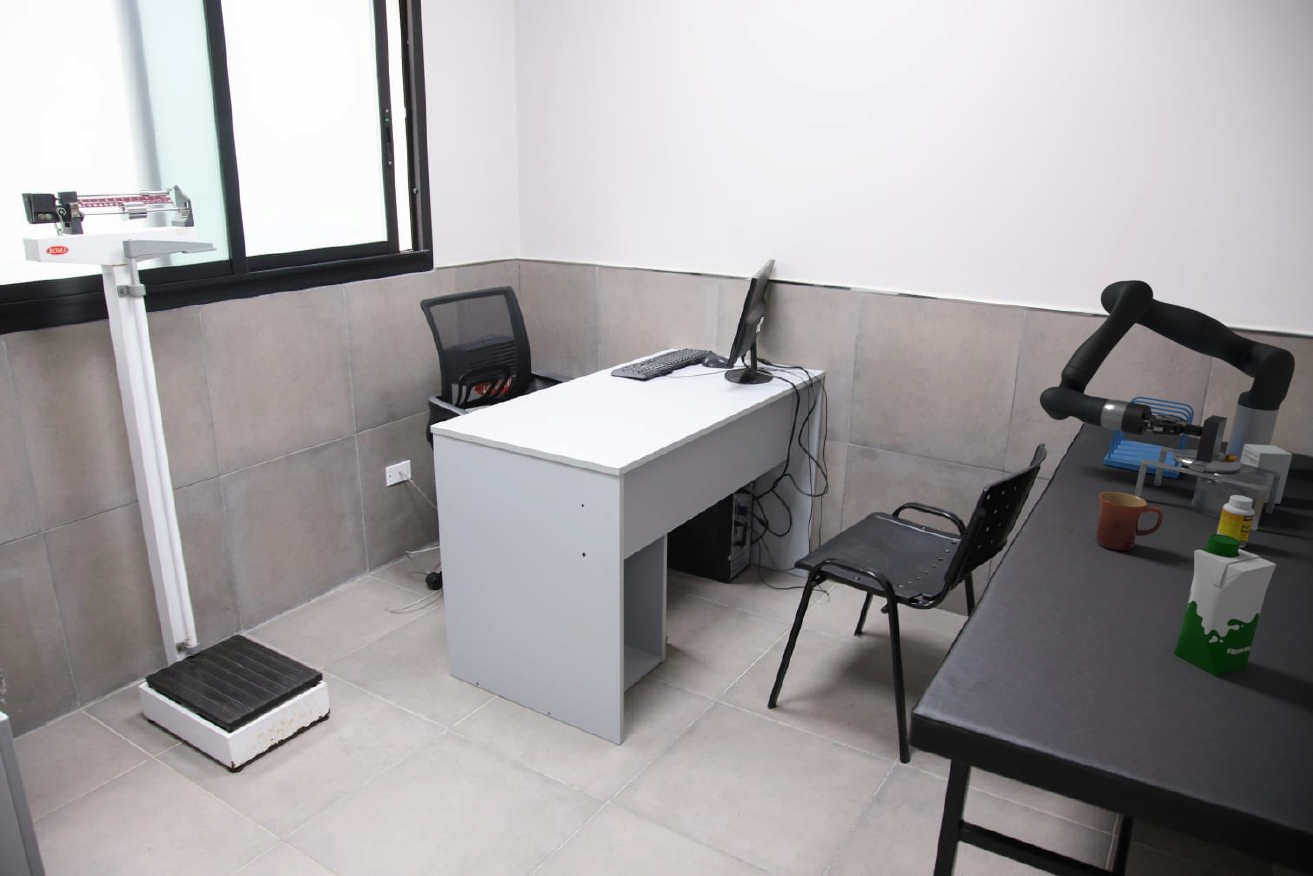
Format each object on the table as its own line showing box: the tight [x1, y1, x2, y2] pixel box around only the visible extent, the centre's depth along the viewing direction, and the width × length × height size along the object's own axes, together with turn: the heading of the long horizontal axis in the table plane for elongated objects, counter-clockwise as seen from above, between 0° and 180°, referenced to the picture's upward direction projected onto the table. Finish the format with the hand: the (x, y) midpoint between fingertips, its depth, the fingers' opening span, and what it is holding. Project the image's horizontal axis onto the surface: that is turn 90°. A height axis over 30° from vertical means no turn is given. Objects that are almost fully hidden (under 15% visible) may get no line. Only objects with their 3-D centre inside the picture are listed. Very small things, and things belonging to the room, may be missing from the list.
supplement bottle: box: [1216, 495, 1255, 549], centre depth 182 cm, size 6×6×10 cm
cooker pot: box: [1134, 446, 1282, 532], centre depth 203 cm, size 25×16×10 cm, turn 45°
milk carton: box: [1173, 533, 1277, 677], centre depth 134 cm, size 9×9×20 cm
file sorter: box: [1103, 396, 1195, 479], centre depth 235 cm, size 25×17×15 cm
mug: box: [1095, 491, 1164, 552], centre depth 178 cm, size 12×9×10 cm
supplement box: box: [1240, 444, 1293, 504], centre depth 210 cm, size 7×7×13 cm
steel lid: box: [1173, 415, 1242, 473], centre depth 201 cm, size 14×16×11 cm
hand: (1205, 432), depth 202 cm, fingers closed
